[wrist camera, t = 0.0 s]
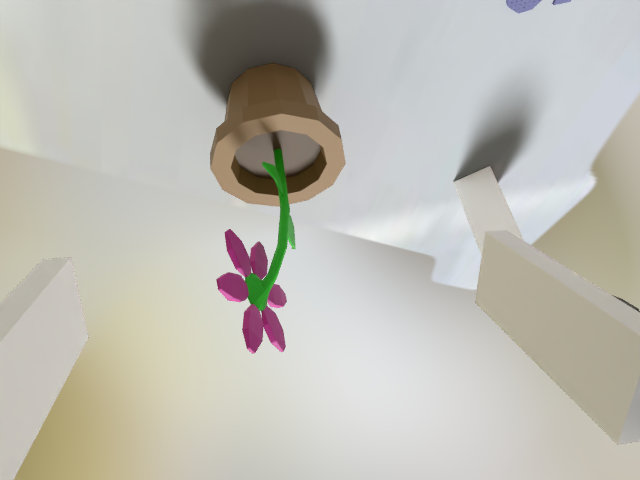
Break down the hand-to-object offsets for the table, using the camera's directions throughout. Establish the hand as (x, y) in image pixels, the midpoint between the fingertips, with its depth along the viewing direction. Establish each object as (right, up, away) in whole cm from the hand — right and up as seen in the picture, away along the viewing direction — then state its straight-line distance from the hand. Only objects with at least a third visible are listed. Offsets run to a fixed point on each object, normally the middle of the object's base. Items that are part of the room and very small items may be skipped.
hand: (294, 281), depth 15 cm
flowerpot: (-5, +18, +39) cm, 43 cm away
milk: (+26, +11, +59) cm, 65 cm away
